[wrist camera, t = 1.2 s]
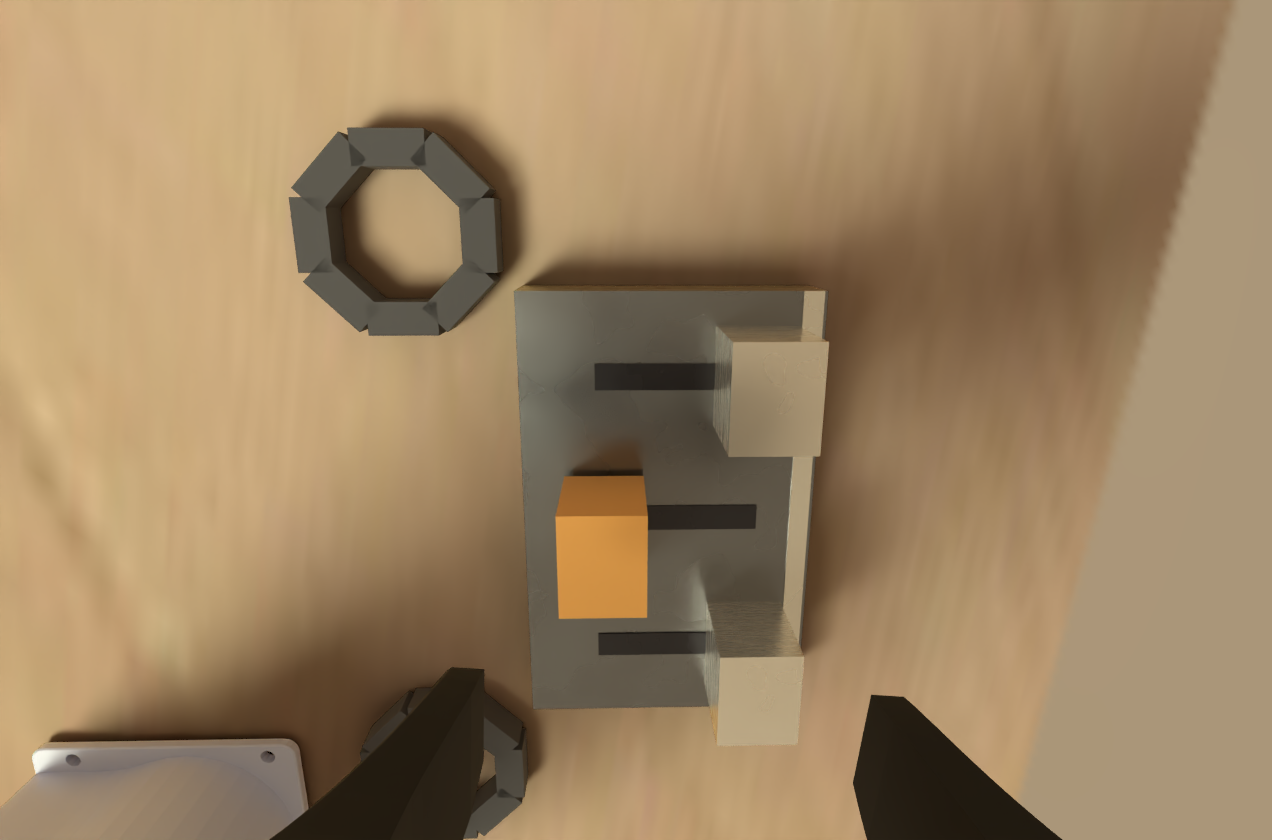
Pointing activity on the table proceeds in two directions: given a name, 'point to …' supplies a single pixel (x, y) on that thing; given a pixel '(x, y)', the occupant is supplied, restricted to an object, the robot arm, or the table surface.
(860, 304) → the table surface
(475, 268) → the coil
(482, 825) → the coil
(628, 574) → the orange breaker switch
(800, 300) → the breaker strip
